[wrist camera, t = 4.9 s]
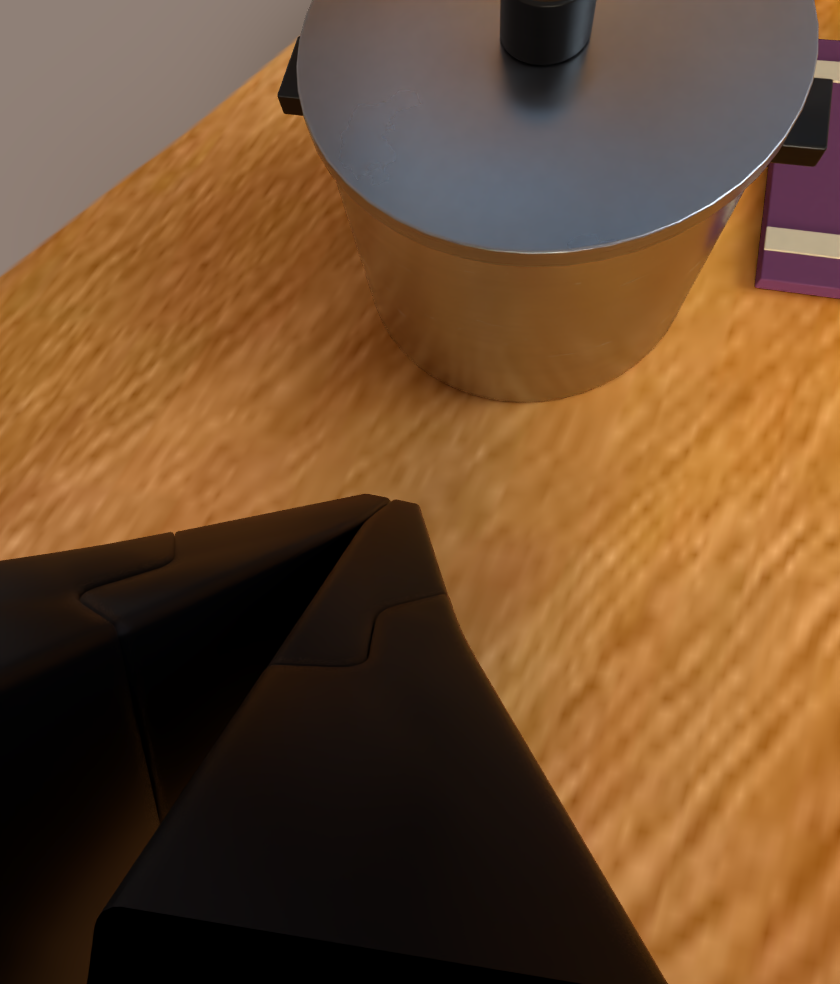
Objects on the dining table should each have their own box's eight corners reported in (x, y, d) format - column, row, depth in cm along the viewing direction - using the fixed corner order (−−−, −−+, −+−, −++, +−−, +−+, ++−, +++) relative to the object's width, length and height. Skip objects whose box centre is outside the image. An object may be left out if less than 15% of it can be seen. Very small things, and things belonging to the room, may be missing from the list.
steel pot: (703, 444, 23) (895, 250, 12) (301, 374, 25) (163, 163, 15) (742, 144, 26) (922, -222, 15) (382, 108, 28) (317, -226, 18)
